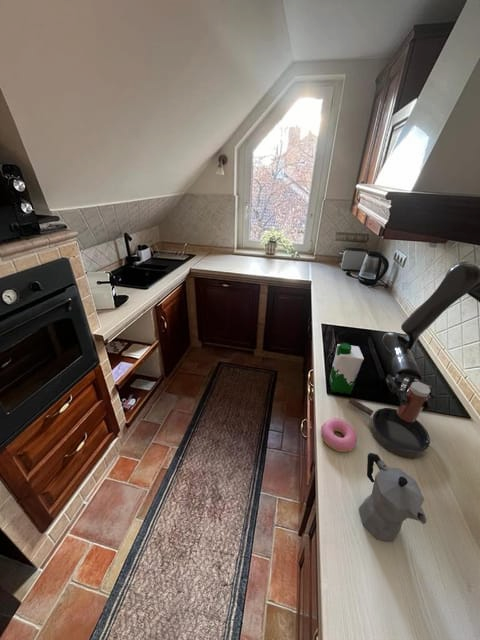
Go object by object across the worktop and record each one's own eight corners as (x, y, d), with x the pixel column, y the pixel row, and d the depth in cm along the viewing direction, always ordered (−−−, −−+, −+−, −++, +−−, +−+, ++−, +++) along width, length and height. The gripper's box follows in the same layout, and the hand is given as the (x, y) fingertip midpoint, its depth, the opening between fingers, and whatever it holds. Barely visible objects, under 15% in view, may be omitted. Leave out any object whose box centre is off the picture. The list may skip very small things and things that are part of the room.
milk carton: (326, 378, 106) (336, 338, 96) (349, 380, 105) (361, 341, 94) (329, 393, 98) (341, 352, 88) (353, 396, 97) (368, 355, 87)
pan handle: (372, 413, 88) (373, 410, 87) (370, 416, 87) (371, 413, 86) (350, 399, 93) (351, 397, 92) (348, 402, 92) (348, 400, 91)
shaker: (410, 408, 81) (424, 381, 75) (419, 422, 77) (436, 394, 70) (393, 408, 81) (407, 380, 75) (402, 422, 77) (417, 393, 71)
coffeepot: (416, 546, 58) (450, 507, 49) (382, 560, 56) (412, 522, 47) (369, 478, 71) (390, 437, 62) (340, 487, 69) (357, 447, 60)
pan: (408, 415, 90) (411, 408, 88) (437, 460, 76) (442, 453, 74) (362, 413, 90) (364, 407, 88) (383, 458, 76) (387, 451, 74)
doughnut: (312, 432, 83) (314, 423, 81) (336, 418, 88) (339, 410, 86) (338, 460, 75) (341, 452, 73) (363, 444, 80) (366, 436, 78)
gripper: (385, 355, 87) (393, 390, 73) (433, 365, 83) (451, 404, 69) (379, 372, 91) (385, 408, 77) (424, 382, 87) (440, 422, 73)
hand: (416, 406), depth 73 cm, fingers closed on shaker, 5 cm apart
